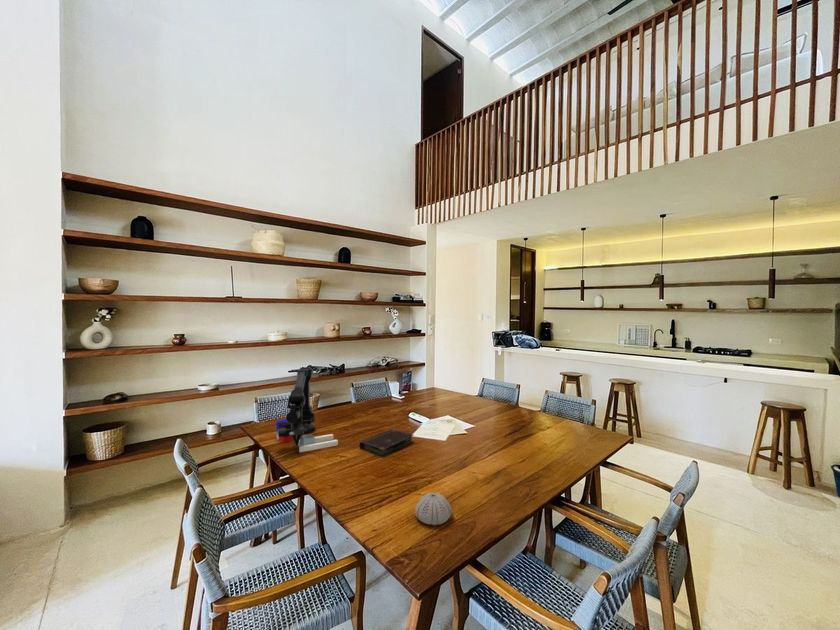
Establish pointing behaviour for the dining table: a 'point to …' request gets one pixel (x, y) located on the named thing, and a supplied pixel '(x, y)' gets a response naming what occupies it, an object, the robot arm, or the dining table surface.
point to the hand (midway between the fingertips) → (296, 445)
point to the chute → (319, 445)
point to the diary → (386, 442)
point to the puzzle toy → (286, 425)
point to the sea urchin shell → (433, 509)
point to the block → (307, 440)
